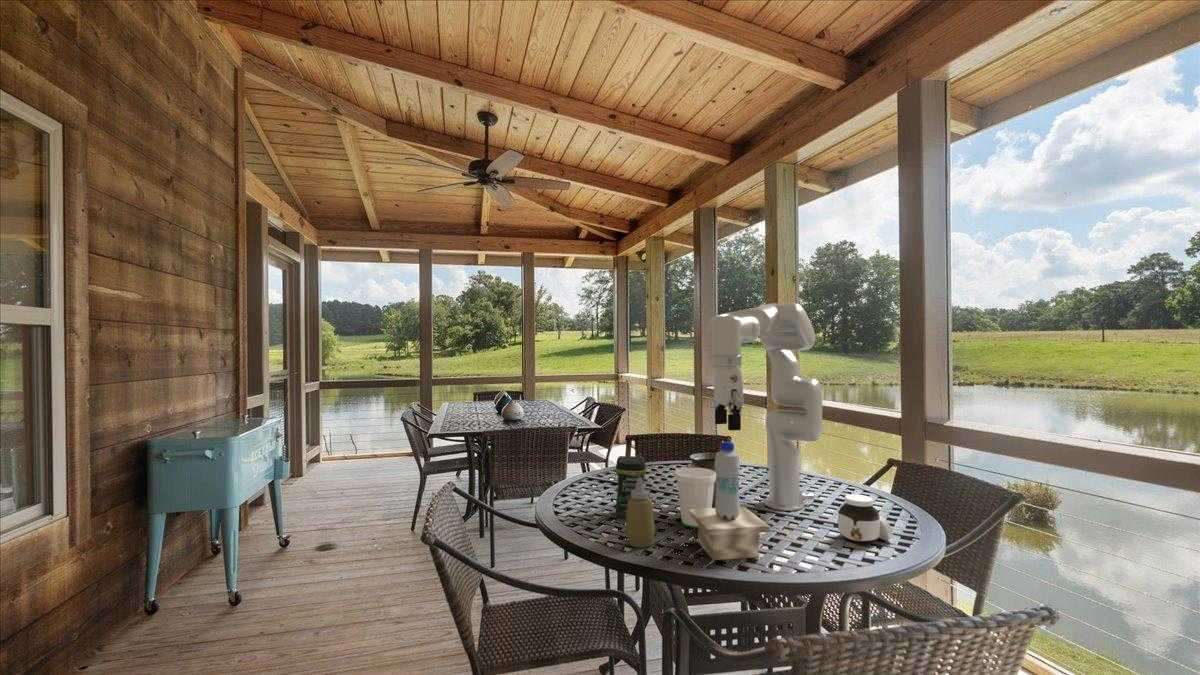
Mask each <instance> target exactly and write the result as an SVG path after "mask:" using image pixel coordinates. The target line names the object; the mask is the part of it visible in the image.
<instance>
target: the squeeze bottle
mask: <svg viewBox="0 0 1200 675" xmlns="http://www.w3.org/2000/svg"><path fill="white" fill-rule="evenodd" d="M631 497H632V498H630V499H629V500H628V506H627V517H626V518H625V530H624V531H625V534H626V537H627V541H628V543H629V545H630V546H631V547H632V548H633V547H634V548H637V549H638V548H639V549H641V548H648V547H650V546H651V545H652V543H653V539H654V535H655V533H656V526H655V520H654V519H655V518H654V510H653V508H654V507H653V501H652V499H650V498H649V491H648V490H647V489H645V484H644V485H643V481H642V478H637V483H636V488H635V490H632V491H631Z"/></svg>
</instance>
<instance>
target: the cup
mask: <svg viewBox="0 0 1200 675" xmlns="http://www.w3.org/2000/svg"><path fill="white" fill-rule="evenodd" d="M674 478H675V480H676V484H677V492H678V500H679V508H680V516H681V523H682V525H684V526H685V525H686V527H688V526H690V527H689V528H694V527H695V528H694V529H696V528H698V524H697V523H696V522H695V521H694V520H693V519H692V517H691V516H690V515H689V509H705V508H713V500H714V499H713V498H714V488H715V483H716V472H715V470H712V469H710V468H704V467H683V468H679V469H677V470H675V471H674Z"/></svg>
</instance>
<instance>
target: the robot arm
mask: <svg viewBox="0 0 1200 675" xmlns="http://www.w3.org/2000/svg"><path fill="white" fill-rule="evenodd" d="M814 330H815V329H814V326H813V325H812V323H811V321H810V318H809V316H808V315H807V312H806V310H805V309H804V308H803V306H802V305H801V304H799V303H797V302H780V303H777V302H775V303H773V302H772V303H766V304H763V305H760V306H756V307H753V308H752V307H751V308H747V309H742V310H737V311H730V312H725V313H724V312H723V313H721V314H717V315H714V316H712V317H711V318H710V319H709V321H708V323H707V327H706V332H707V336H708V338H709V339H710V341H711V342H712V343H711V344H712V345H711V346H712V348H711V349H712V350H711V352H712V358H711V360H712V362H711V363H712V368H713V369H714V376H713V400H714V423H715V424H716V425H726V424H727V430H728V431H740V430H742V428H741V426H742V423H741V422H742V421H741V419H742V418H741V416H742V406H743V405H744V403H745V402H744V386H743V385H744V384H743V383H744V382H743V376H742V374H743V373H742V344H745V343H746V344H747V343H748V344H749V343H752V342H754V341H757V340H758V338H759V340H760V342H761V345H762V346H763V348H764V349H765V351H766V352H767V355H768V357H769V360H770V365H771V375H770V376H771V377H770V381H771V383H770V384H771V386H770V388H771V389H770V393H771V394H770V395H771V399H772V402H773V403H774V404H775V405H779V406H785V407H787V406H788V407H796V408H797V407H799V408H804V409H805V411H804V410H793V409H773V410H771V411H769V412H768V413H767V414H766V417H765V430H766V435H767V441H768V442H767V443H768V497H765V499H764V502H763V503H764V505H765V506H766V507H768V508H770V509H775V510H779V511H791V512H793V511H794V510H795V511H800V510H803V509H805V502H804V501H805V500H814V499H815V495H814V494H813V493H807V492H802V491H800V452H799V449H798V448H797V446H796V444H795V443H794V441H802V442H817V441H818V440H819V439H820V438H821V436H822V433H823V432H822V431H823V389H822V386H821V383H820V382H819V380H818V379H816V378H812V377H799V361H798V359H797V358H796V356H795V354H794V353H793V351H808V350H811V349H812V348H813V346H814V345H815V342H816V333H815V331H814ZM726 408H727V409H726ZM728 413H729V414H728Z"/></svg>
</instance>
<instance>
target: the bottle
mask: <svg viewBox="0 0 1200 675" xmlns="http://www.w3.org/2000/svg"><path fill="white" fill-rule="evenodd" d="M734 450H735V445H734V442H731V441H727V440H726V441H723V442H721V444H720V450H719V451H717V452H716V453H715V458H714V463H713V465H714V471H715V472H716V481H715V503H714V504H715V505H714V506H715V507H714V508H715V510H716V514H717V516H718V517H720V518H721V519H724V516H727V519H728V520H730V519H731V516H732V517H733V519H736V518H737V517H738V516H739V513H740V507H741V504H740V480H739V479H740V476H739V475H740V472H741V470H740V468H741V463H740V457H739V456H740V455H739V454H738V453H737V452H736V451H734Z"/></svg>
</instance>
